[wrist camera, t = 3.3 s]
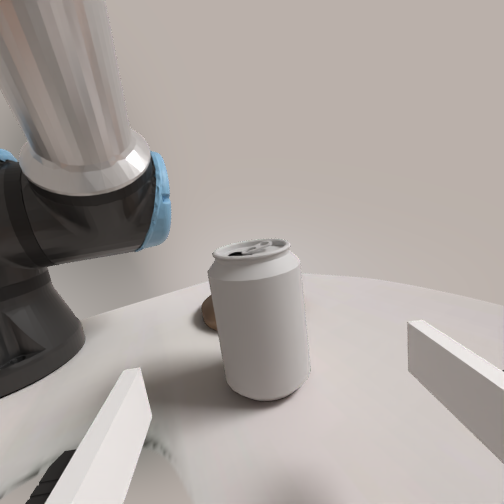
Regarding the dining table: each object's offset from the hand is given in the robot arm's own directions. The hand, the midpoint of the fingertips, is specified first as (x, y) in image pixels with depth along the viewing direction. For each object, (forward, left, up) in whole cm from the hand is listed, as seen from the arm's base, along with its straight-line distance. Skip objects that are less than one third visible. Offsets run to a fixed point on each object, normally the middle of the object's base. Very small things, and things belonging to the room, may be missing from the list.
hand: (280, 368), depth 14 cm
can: (0, +10, -8) cm, 13 cm away
